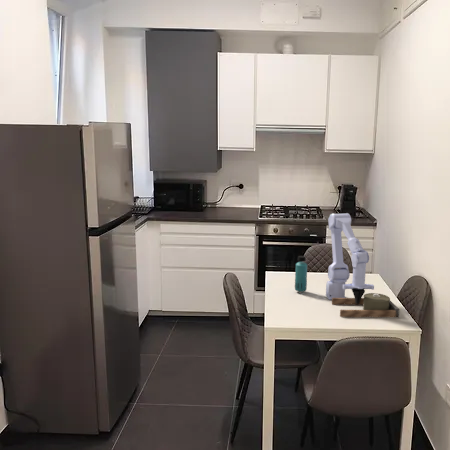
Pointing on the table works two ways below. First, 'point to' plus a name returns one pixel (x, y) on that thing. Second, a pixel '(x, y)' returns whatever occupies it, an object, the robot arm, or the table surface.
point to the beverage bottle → (301, 274)
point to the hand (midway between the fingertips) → (357, 303)
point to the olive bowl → (376, 302)
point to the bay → (391, 312)
